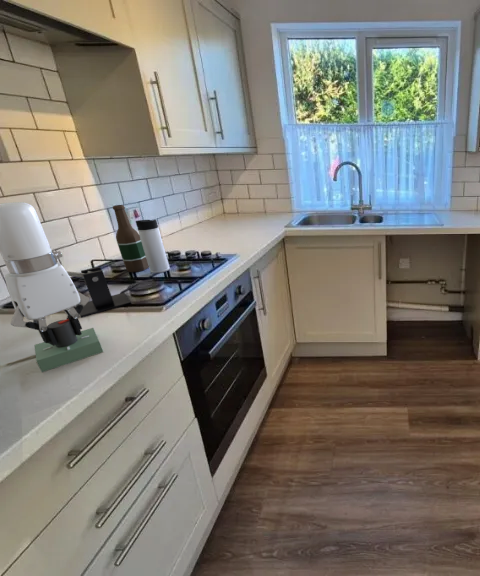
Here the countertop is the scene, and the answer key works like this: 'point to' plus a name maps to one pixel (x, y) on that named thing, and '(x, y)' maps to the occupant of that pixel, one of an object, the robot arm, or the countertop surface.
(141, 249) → the beer bottle
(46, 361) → the dial block
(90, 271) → the toaster lever
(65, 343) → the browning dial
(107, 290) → the bracket
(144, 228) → the travel mug
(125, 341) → the countertop surface
